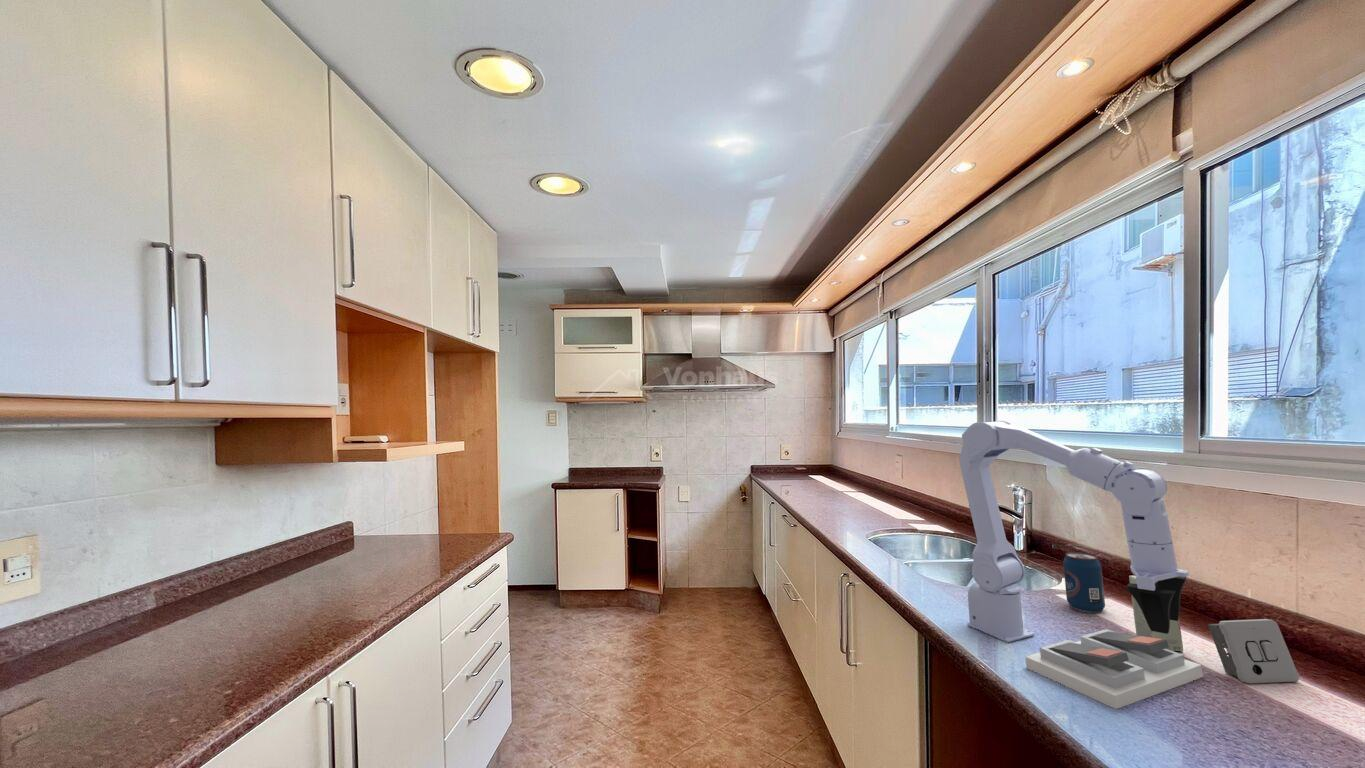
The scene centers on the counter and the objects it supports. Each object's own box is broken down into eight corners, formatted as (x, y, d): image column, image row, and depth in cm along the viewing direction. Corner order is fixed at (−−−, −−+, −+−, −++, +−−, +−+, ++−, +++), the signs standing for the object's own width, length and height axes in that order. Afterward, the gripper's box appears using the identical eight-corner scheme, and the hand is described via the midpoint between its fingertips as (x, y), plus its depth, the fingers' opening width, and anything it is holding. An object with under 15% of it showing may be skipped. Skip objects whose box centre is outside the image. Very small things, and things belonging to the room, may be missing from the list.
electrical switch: (1245, 685, 82) (1233, 625, 83) (1212, 672, 87) (1201, 616, 88) (1302, 683, 82) (1288, 623, 83) (1265, 670, 87) (1253, 614, 88)
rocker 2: (1094, 643, 92) (1092, 635, 93) (1111, 638, 94) (1109, 630, 94) (1151, 653, 84) (1148, 644, 85) (1169, 647, 86) (1166, 638, 86)
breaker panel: (1026, 668, 90) (1024, 647, 90) (1108, 643, 98) (1106, 624, 98) (1116, 709, 77) (1113, 684, 77) (1202, 677, 85) (1200, 655, 85)
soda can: (1060, 602, 119) (1055, 551, 120) (1092, 602, 118) (1087, 551, 119) (1079, 614, 112) (1074, 559, 113) (1113, 614, 111) (1108, 559, 112)
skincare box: (1184, 652, 93) (1177, 585, 94) (1157, 651, 94) (1150, 584, 95) (1159, 637, 99) (1153, 574, 100) (1134, 636, 100) (1128, 574, 101)
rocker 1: (1053, 655, 89) (1051, 646, 89) (1072, 649, 90) (1070, 641, 91) (1109, 666, 80) (1106, 657, 81) (1129, 660, 82) (1126, 651, 83)
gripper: (1172, 551, 77) (1190, 644, 75) (1190, 536, 86) (1206, 619, 84) (1114, 546, 83) (1129, 633, 81) (1136, 532, 91) (1150, 610, 89)
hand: (1164, 625), depth 83 cm, fingers open, 7 cm apart
